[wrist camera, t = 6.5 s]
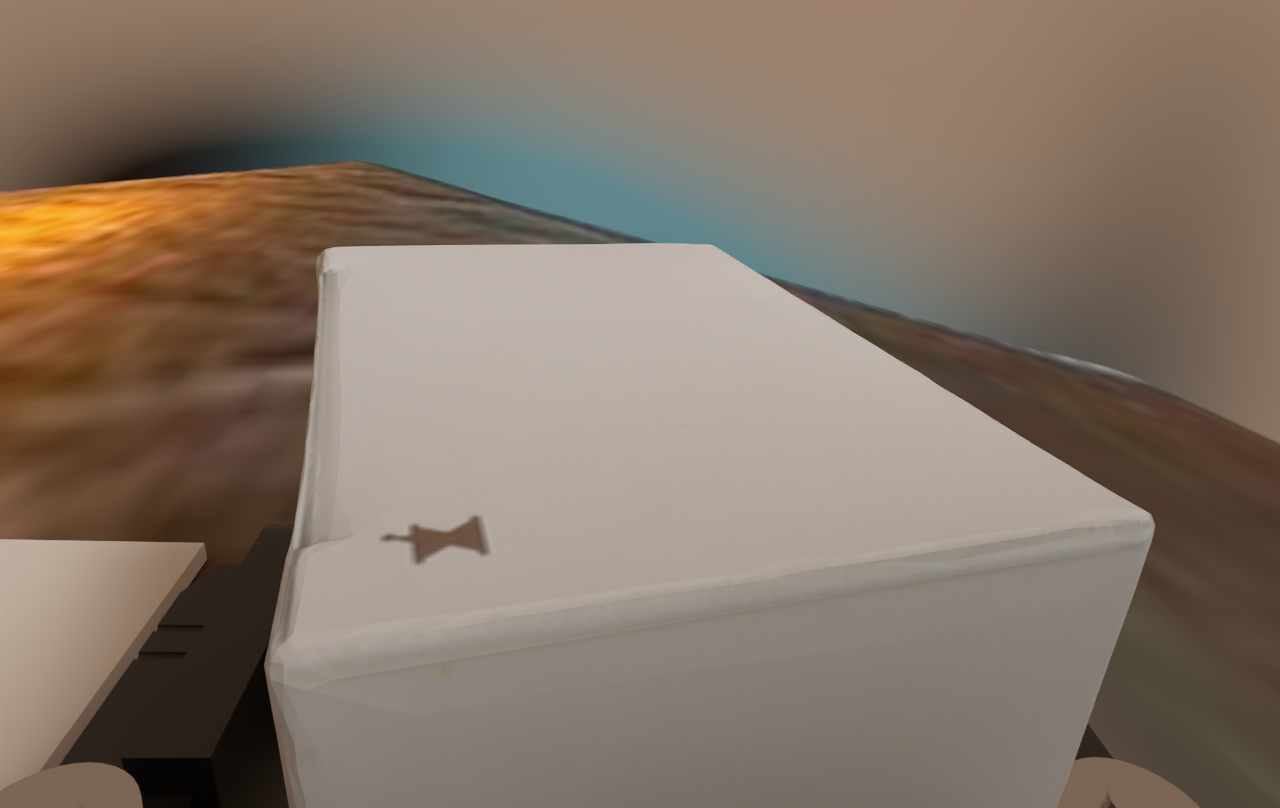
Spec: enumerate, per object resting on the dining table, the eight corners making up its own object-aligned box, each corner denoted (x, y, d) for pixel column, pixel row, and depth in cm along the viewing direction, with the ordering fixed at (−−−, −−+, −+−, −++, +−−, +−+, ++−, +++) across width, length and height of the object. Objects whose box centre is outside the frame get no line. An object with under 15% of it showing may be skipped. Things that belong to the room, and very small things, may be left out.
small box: (891, 1298, 10) (1214, 529, 5) (387, 1529, 8) (242, 679, 3) (664, 757, 16) (722, 233, 12) (369, 818, 15) (314, 234, 10)
